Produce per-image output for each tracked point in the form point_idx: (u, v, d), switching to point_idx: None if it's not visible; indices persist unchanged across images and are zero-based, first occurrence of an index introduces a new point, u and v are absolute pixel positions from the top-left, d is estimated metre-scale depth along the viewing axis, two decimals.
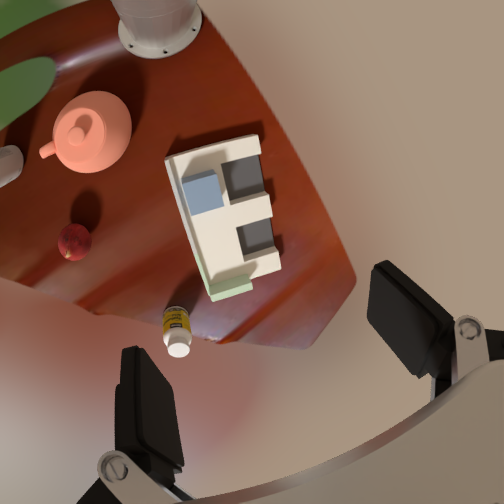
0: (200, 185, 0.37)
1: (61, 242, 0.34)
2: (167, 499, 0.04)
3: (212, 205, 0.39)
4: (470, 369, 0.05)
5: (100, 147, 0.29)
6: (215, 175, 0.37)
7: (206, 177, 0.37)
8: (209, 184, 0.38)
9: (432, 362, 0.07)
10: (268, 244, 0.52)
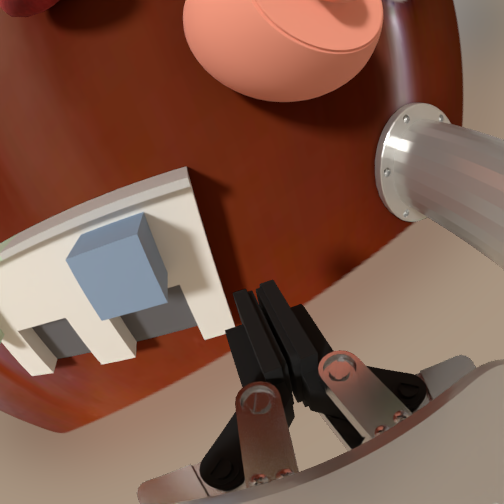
0: (138, 274, 0.15)
1: None
2: (287, 454, 0.05)
3: (96, 300, 0.15)
4: (370, 409, 0.06)
5: (280, 26, 0.09)
6: (163, 301, 0.17)
7: (157, 284, 0.16)
8: (142, 292, 0.16)
9: (306, 394, 0.08)
10: (55, 351, 0.23)
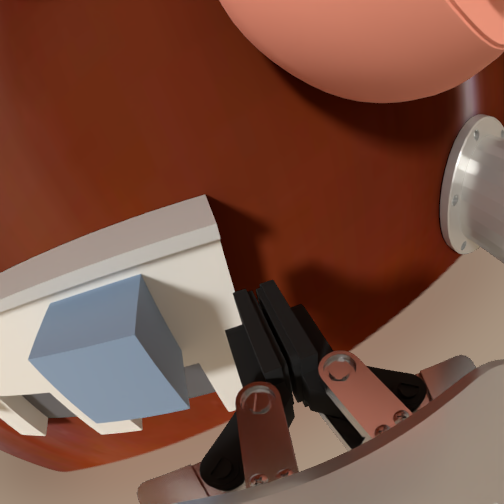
0: (143, 383, 0.09)
1: None
2: (287, 454, 0.05)
3: (85, 405, 0.09)
4: (370, 409, 0.05)
5: None
6: (184, 407, 0.10)
7: (174, 392, 0.10)
8: (152, 401, 0.09)
9: (306, 394, 0.08)
10: (45, 411, 0.16)
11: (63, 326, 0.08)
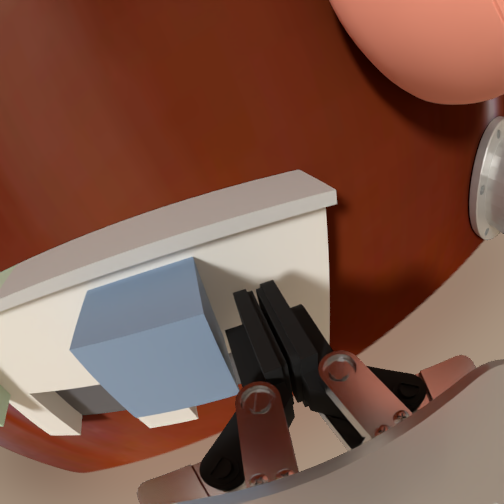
0: (199, 368, 0.09)
1: None
2: (287, 454, 0.05)
3: (128, 398, 0.09)
4: (370, 409, 0.05)
5: None
6: (235, 392, 0.11)
7: (228, 376, 0.10)
8: (204, 387, 0.10)
9: (306, 394, 0.08)
10: (80, 408, 0.17)
11: (110, 312, 0.09)
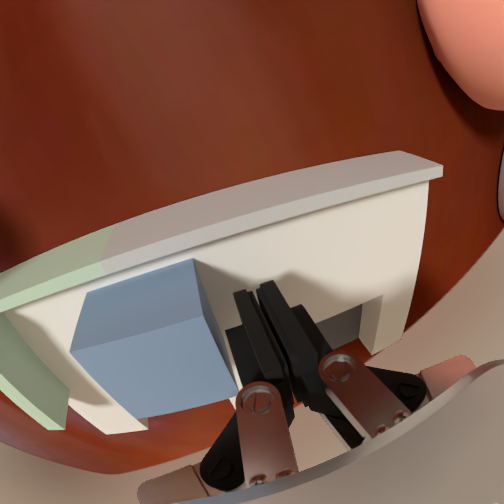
0: (199, 369, 0.09)
1: None
2: (287, 454, 0.05)
3: (128, 400, 0.09)
4: (370, 409, 0.05)
5: None
6: (235, 393, 0.11)
7: (228, 377, 0.10)
8: (203, 388, 0.10)
9: (305, 394, 0.08)
10: None
11: (110, 314, 0.09)
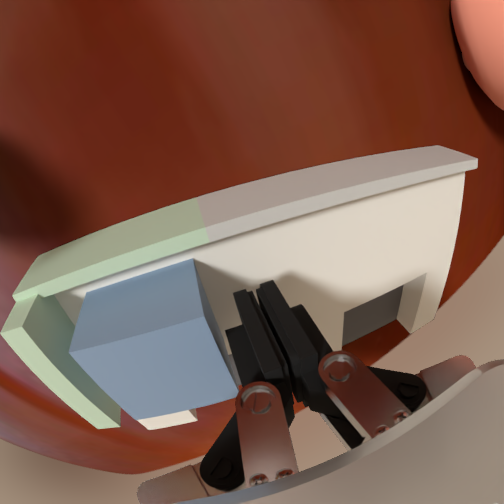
0: (200, 370, 0.09)
1: None
2: (287, 455, 0.05)
3: (128, 401, 0.09)
4: (370, 409, 0.06)
5: None
6: (235, 394, 0.10)
7: (229, 378, 0.10)
8: (204, 390, 0.10)
9: (305, 394, 0.08)
10: None
11: (109, 314, 0.09)
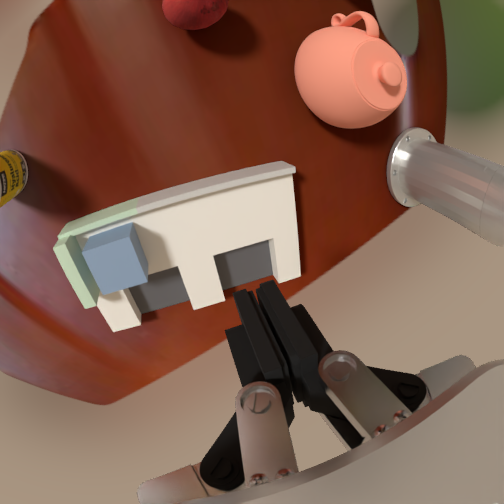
0: (129, 262, 0.24)
1: None
2: (287, 454, 0.05)
3: (101, 280, 0.24)
4: (370, 409, 0.06)
5: (364, 96, 0.20)
6: (145, 280, 0.25)
7: (141, 269, 0.24)
8: (131, 274, 0.24)
9: (306, 394, 0.08)
10: (142, 306, 0.33)
11: (98, 240, 0.23)
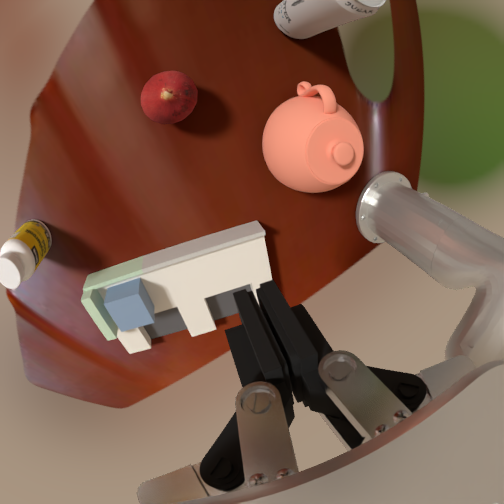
0: (139, 310, 0.32)
1: (182, 82, 0.21)
2: (287, 455, 0.05)
3: (119, 322, 0.32)
4: (370, 409, 0.06)
5: (317, 176, 0.27)
6: (152, 322, 0.33)
7: (149, 314, 0.33)
8: (142, 318, 0.33)
9: (305, 394, 0.08)
10: (151, 333, 0.41)
11: (115, 293, 0.32)
